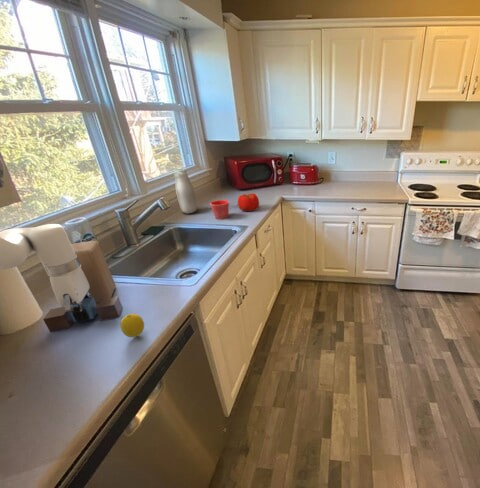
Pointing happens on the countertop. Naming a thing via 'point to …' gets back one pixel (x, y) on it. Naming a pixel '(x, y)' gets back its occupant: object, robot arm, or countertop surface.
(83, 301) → the blue block
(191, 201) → the glass bottle
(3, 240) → the robot arm
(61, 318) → the block left
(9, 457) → the countertop surface
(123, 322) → the lemon
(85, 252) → the block
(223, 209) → the flower pot
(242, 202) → the tomato
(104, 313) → the block right
